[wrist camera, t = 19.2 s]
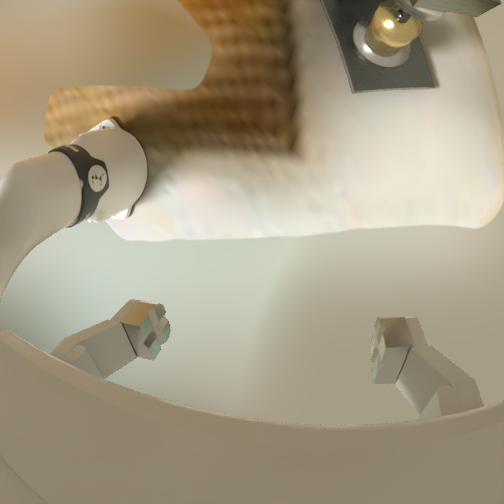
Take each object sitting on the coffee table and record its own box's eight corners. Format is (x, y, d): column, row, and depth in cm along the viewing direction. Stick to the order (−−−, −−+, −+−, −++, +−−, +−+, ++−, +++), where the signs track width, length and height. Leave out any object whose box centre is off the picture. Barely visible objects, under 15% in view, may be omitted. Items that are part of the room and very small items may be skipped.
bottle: (366, 54, 25) (383, 29, 16) (361, 23, 23) (376, -9, 14) (401, 59, 24) (430, 39, 15) (397, 28, 22) (421, 1, 13)
